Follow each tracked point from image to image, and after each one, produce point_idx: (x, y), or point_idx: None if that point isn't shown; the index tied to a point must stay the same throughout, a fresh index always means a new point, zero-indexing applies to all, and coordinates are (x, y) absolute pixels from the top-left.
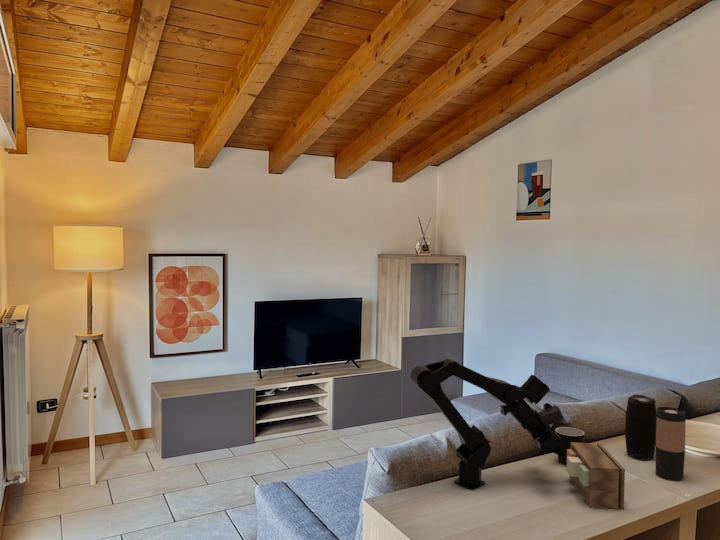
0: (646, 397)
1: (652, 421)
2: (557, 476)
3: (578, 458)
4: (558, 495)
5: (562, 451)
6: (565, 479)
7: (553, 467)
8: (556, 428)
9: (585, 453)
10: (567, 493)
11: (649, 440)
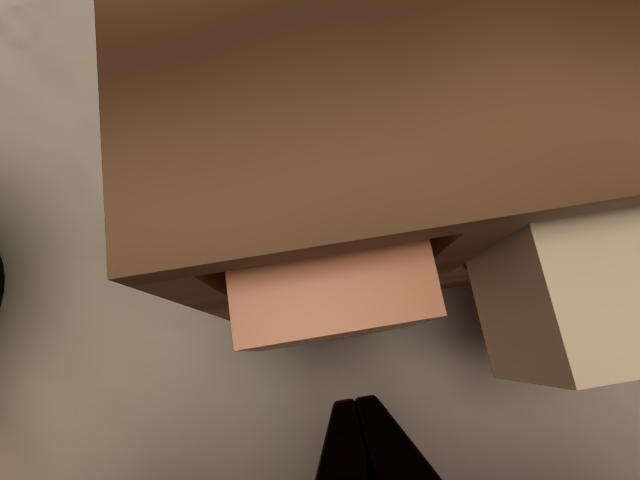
0: None
1: None
2: (234, 416)
3: (585, 229)
4: (603, 443)
5: (412, 446)
6: (279, 357)
7: (45, 433)
8: None
9: (622, 102)
10: None
11: None
